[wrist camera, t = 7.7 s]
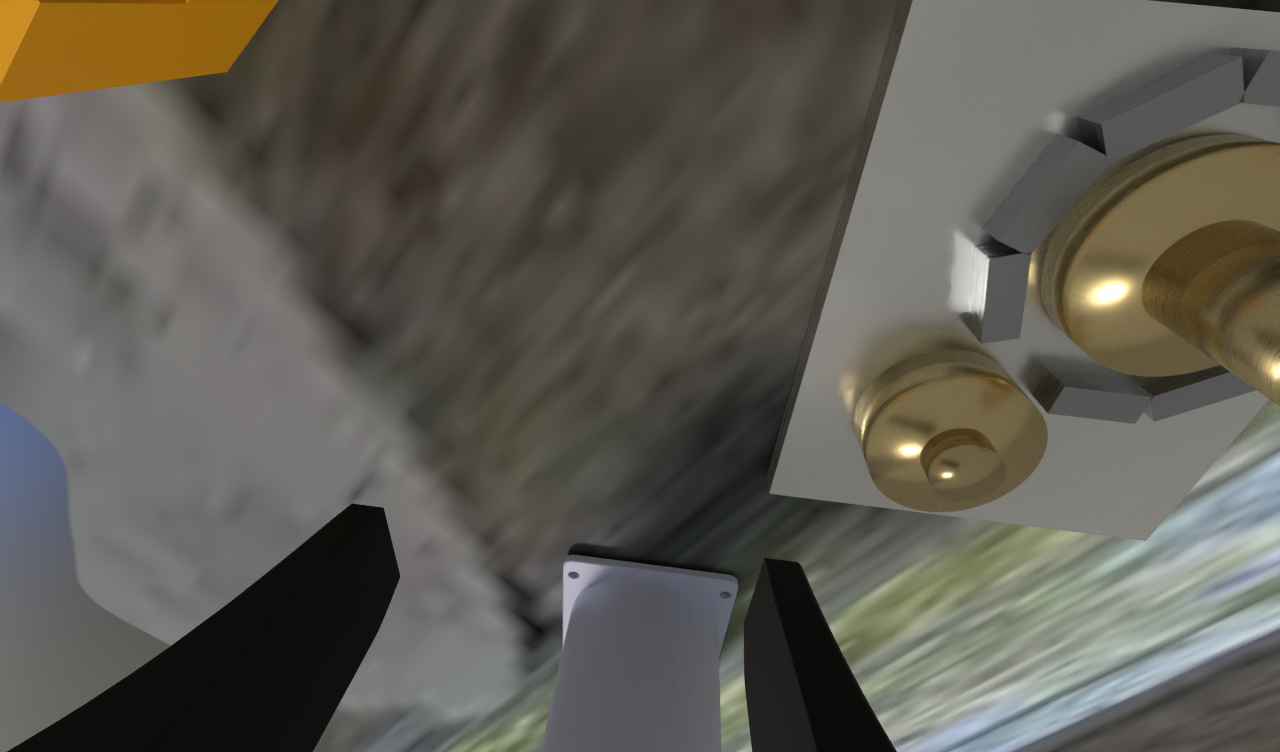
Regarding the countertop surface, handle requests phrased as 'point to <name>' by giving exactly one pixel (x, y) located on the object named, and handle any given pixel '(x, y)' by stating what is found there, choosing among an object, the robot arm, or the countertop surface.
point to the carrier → (1012, 267)
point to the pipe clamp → (118, 42)
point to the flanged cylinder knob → (1177, 264)
